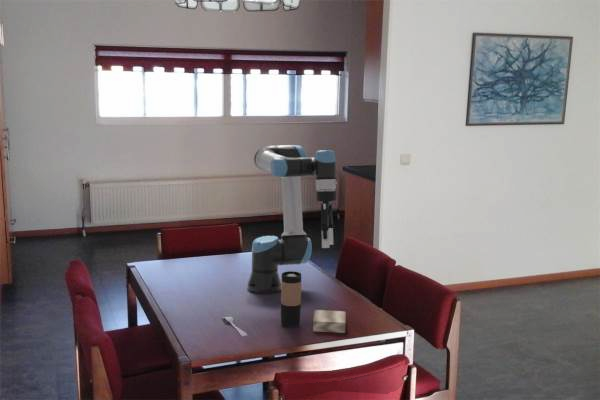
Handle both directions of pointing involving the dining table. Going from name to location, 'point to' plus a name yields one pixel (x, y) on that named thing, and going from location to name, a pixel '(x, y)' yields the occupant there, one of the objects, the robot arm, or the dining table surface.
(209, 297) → the dining table surface
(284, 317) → the travel mug
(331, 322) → the stand
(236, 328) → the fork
